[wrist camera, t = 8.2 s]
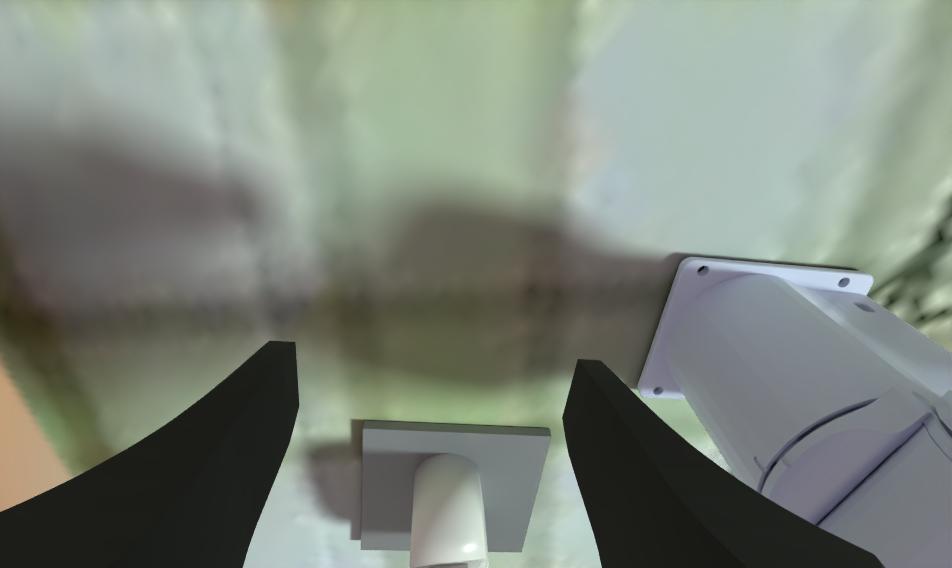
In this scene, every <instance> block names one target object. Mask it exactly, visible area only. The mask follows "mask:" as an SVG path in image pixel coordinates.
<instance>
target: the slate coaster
mask: <svg viewBox="0 0 952 568" xmlns="http://www.w3.org/2000/svg"><path fill="white" fill-rule="evenodd" d="M550 440H551V433H550V429H549V428H527V427H504V426H482V425H459V424H436V423H413V422H390V421H367V420H364V425H363V449H362V507H361V550H404V551H410V549H411V531H412V513H413V495H414V477H415V471H416V469H417V467H418V466H419V465H420V464H421V463H422V462H423V461H424V460H426V459H427V458H429V457H432V456H434V455H438V454H445V453H452V454H458V455H462V456H464V457H467V458H468V459H470V460H471V461H472V462H474V464H475V465H476V466H477V468H478V471H479V477H480V484H481V491H482V499H483V506H484V515H485V526H486V537H487V549H488V552H522V548H523V544H524V540H525V536H526V533H527V529H528V525H529V521H530V517H531V513H532V509H533V506H534V502H535V498H536V494H537V490H538V486H539V482H540V479H541V475H542V471H543V467H544V463H545V459H546V455H547V452H548V448H549V444H550Z"/></svg>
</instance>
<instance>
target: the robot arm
mask: <svg viewBox="0 0 952 568" xmlns="http://www.w3.org/2000/svg"><path fill="white" fill-rule="evenodd" d="M702 266H705V268H704V269H703V270H702V271H701V272H698V269H699V268H700V267H702ZM841 279H843V280H842V281H841V282H840V283H839V281H840V280H841ZM872 284H873V277H872V276H871V275H870V274H868V273H867V272H864V271H853V270H841V269H830V268H818V267H807V266H795V265H783V264H772V263H760V262H748V261H737V260H725V259H713V258H702V257H688V258H686V259H684V260H683V261H682V262H681V263H680V265H679V267H678V270H677V273H676V276H675V279H674V282H673V285H672V288H671V291H670V293H669V296H668V299H667V302H666V305H665V308H664V311H663V314H662V316H661V319H660V322H659V325H658V328H657V331H656V334H655V337H654V340H653V342H652V345H651V348H650V351H649V354H648V357H647V360H646V363H645V366H644V368H643V371H642V374H641V377H640V380H639V383H638V386H637V389H638V391H639V393H640V395H641V396H643V397H650V398H669V399H686V400H687V401H688V403H689V404H690V406H691V407H692V409H693V411H694V412H695V414H696V415H697V417H698V418H699V420H700V422H701V423H702V425H703V426H704V428H705V429H706V431H707V433H708V434H709V436H710V437H711V439H712V441H713V442H714V444H715V445H716V447H717V448H718V450H719V452H720V453H721V455H722V456H723V458H724V459H725V461H726V463H727V464H728V466H729V467H730V469H731V470H732V472H733V474H734V475H735V477H736V478H735V477H734V476H732V475H731V474H730V473H728V472H727V471H725V470H724V469H722V468H721V467H720V466H718V465H717V464H716V463H714V462H713V461H712V460H710V459H709V458H708V457H706V456H705V455H704V454H702V453H701V452H700V451H698V450H697V449H696V448H694V447H693V446H692V445H691V444H689V443H688V442H687V441H686V440H685V439H683V438H682V437H681V436H680V435H679V434H678V433H676V432H675V431H674V430H673V429H672V428H671V427H669V426H668V425H667V424H666V423H665V422H664V421H663V420H662V419H661V418H659V417H658V416H657V415H656V414H655V413H654V412H653V411H652V410H651V409H650V408H649V407H648V406H647V405H646V404H644V403H643V402H642V401H641V400H640V399H639V398H638V397H637V396H636V395H635V394H634V393H633V392H632V391H631V390H630V389H629V388H628V387H627V386H626V385H625V384H624V383H623V382H622V381H621V380H620V379H619V378H618V377H617V376H616V375H615V374H614V373H613V372H612V371H611V370H610V369H609V368H608V367H607V366H606V365H605V364H604V363H603V362H601V361H600V360H583V359H578V361H577V365H576V368H575V372H574V376H573V380H572V383H571V387H570V391H569V395H568V398H567V402H566V406H565V410H564V413H563V417H562V419H563V425H564V431H565V438H566V443H567V448H568V453H569V457H570V460H571V463H572V467H573V470H574V473H575V476H576V480H577V483H578V486H579V489H580V492H581V495H582V498H583V501H584V505H585V508H586V511H587V514H588V517H589V520H590V523H591V527H592V530H593V533H594V536H595V540H596V544H597V547H598V551H599V556H600V561H601V565H602V568H952V353H951V352H950V351H948V350H947V349H945V348H944V347H942V346H941V345H939V344H938V343H936V342H935V341H933V340H932V339H930V338H929V337H927V336H926V335H924V334H923V333H921V332H920V331H918V330H917V329H915V328H914V327H912V326H911V325H909V324H908V323H906V322H905V321H903V320H902V319H900V318H899V317H897V316H896V315H894V314H893V313H891V312H890V311H888V310H887V309H885V308H884V307H882V306H881V305H879V304H878V303H876V302H875V301H873V300H872V299H870V298H869V297H867V296H866V295H867V293H868V291H869V290H870V288H871V286H872ZM657 387H659V388H658V389H657V390H654V389H655V388H657ZM298 409H299V394H298V377H297V361H296V345H295V342H283V341H269V342H268V343H266V344H265V345H264V346H263V347H262V348H260V349H259V350H258V351H257V352H256V353H255V354H254V355H252V356H251V357H250V358H249V359H248V360H247V361H246V362H244V363H243V364H242V365H241V366H240V367H239V368H238V369H236V370H235V371H234V372H233V373H232V374H231V375H229V376H228V377H227V378H226V379H225V380H223V381H222V382H221V383H220V384H219V385H217V386H216V387H215V388H214V389H212V390H211V391H210V392H209V393H208V394H206V395H205V396H204V397H203V398H201V399H200V400H199V401H197V402H196V403H195V404H193V405H192V406H191V407H189V408H188V409H187V410H185V411H184V412H183V413H181V414H180V415H179V416H177V417H176V418H174V419H173V420H172V421H170V422H169V423H167V424H166V425H164V426H163V427H161V428H160V429H158V430H157V431H155V432H154V433H152V434H150V435H149V436H147V437H146V438H144V439H142V440H141V441H139V442H138V443H136V444H134V445H133V446H131V447H129V448H128V449H126V450H124V451H122V452H121V453H119V454H117V455H115V456H113V457H112V458H110V459H108V460H106V461H104V462H103V463H101V464H99V465H97V466H95V467H93V468H92V469H90V470H88V471H86V472H84V473H83V474H81V475H79V476H77V477H75V478H73V479H71V480H69V481H67V482H65V483H63V484H61V485H59V486H57V487H55V488H52V489H50V490H49V491H46V492H44V493H42V494H40V495H37V496H35V497H34V498H31V499H29V500H27V501H25V502H22V503H20V504H18V505H16V506H13V507H11V508H9V509H6V510H4V511H2V512H0V568H243V565H244V561H245V558H246V554H247V551H248V548H249V544H250V542H251V539H252V536H253V533H254V530H255V528H256V525H257V522H258V520H259V518H260V515H261V513H262V510H263V508H264V505H265V503H266V500H267V498H268V495H269V493H270V490H271V488H272V486H273V483H274V481H275V478H276V476H277V473H278V471H279V468H280V466H281V463H282V461H283V458H284V456H285V453H286V451H287V448H288V445H289V443H290V439H291V436H292V432H293V428H294V425H295V421H296V417H297V413H298Z"/></svg>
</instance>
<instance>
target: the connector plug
mask: <svg viewBox="0 0 952 568" xmlns="http://www.w3.org/2000/svg"><path fill="white" fill-rule="evenodd" d="M410 568H489V560H488V549H487V537H486V526H485V515H484V506H483V499H482V491H481V484H480V477H479V471H478V468H477V466H476V465H475V464H474V462H472V461H471V460H470V459H468V458H467V457H464V456H462V455H458V454H452V453H445V454H438V455H434V456H432V457H429V458H427V459H426V460H424V461H423V462H422V463H421V464H420V465H419V466H418V467H417V469H416V471H415V477H414V495H413V513H412V531H411V549H410Z"/></svg>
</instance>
